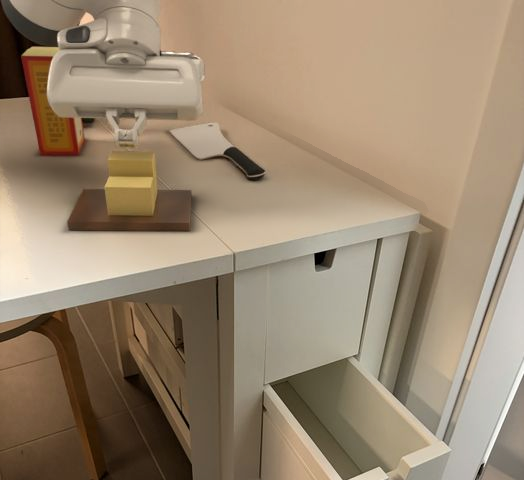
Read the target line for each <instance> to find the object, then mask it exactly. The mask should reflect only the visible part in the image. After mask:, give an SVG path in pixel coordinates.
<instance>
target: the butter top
mask: <svg viewBox="0 0 524 480" xmlns="http://www.w3.org/2000/svg"><path fill="white" fill-rule="evenodd" d="M104 189H105V194H106V202H107V210H108V215H116V216H153V213H154V208H155V196H154V183H153V177H110V175H109V176H108V178H107V180H106V183H105V185H104Z"/></svg>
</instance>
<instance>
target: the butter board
mask: <svg viewBox="0 0 524 480" xmlns="http://www.w3.org/2000/svg"><path fill="white" fill-rule="evenodd" d="M191 210H192V190H191V189H157V196H156V201H155V208H154V213H153V216H116V215H108V210H107V202H106V194H105V188H83V189H82V191H81V193H80V195H79V197H78V198H77V201H76V203H75V205H74V207H73V209H72V210H71V213H70V215H69V217H68V219H67V221H66V225H67V229H68V231H130V232H131V231H132V232H133V231H140V232H142V231H143V232H145V231H147V232H149V231H150V232H152V231H153V232H156V231H158V232H161V231H162V232H163V231H164V232H167V231H169V232H190V227H191V213H192V211H191Z"/></svg>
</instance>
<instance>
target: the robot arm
mask: <svg viewBox="0 0 524 480" xmlns="http://www.w3.org/2000/svg"><path fill="white" fill-rule="evenodd" d="M0 2H1V7H2V10H3V12H4V14H5V15H6V17H7V19H8V20H9V22H10V23H11V25H12V26H13V27H14V28H15V29H16V30H17V32H19V33H20V34H21V35H22V36H24V37H25V38H27V40H29V41H31V42H34V43H35V44H39V45H41V46H44V47H59V50H60V51H58V52H57V53H56V54H55V55H54V57H53V59H52V61H51V65H50V70H49V76H48V84H47V99H48V102H49V104H50V106H51V108H52V110H53V111H54V112H55V113H56V114H57V115H58V116H59V117H71V118H95V119H106V121H107V123H108V126H109V127H110V129H111V130H112V132H113V134H114V137H113V139H114V145H115V147H116V148H131V149H132V148H134V149H135V148H139V147H140V145H139V144H140V141H139V140H140V139H139V138H140V137H141V135H142V134H143V133H144V132H145V129H146V128H147V127H148V120H153V121H154V120H155V121H189V122H190V121H191V122H192V121H194V122H197V121H198V120H199V119H200V118H201V117H202V115H203V113H204V112H203V95H202V94H203V93H202V86H201V85H202V84H201V83H202V82H203V80H204V79H205V76H206V73H205V72H206V65H205V63H204V61H203V59H202V58H201V57H199V56H198V55H194V52H192V51H183V52H180V51H173V50H161V49H162V39H161V38H162V31H161V25H160V23H159V17H160V14H161V10H162V0H0ZM86 13H87V14H89V15H90V16H91V17H92V18H93V20H91V21H89V22H86V23H83V24H81V21H82V20H83V18H84V17H85V15H86ZM120 120H135V123H134V125H133V126H132V128H130V129H124V128H122V129H121V128H120V127H119V125H120Z"/></svg>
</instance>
